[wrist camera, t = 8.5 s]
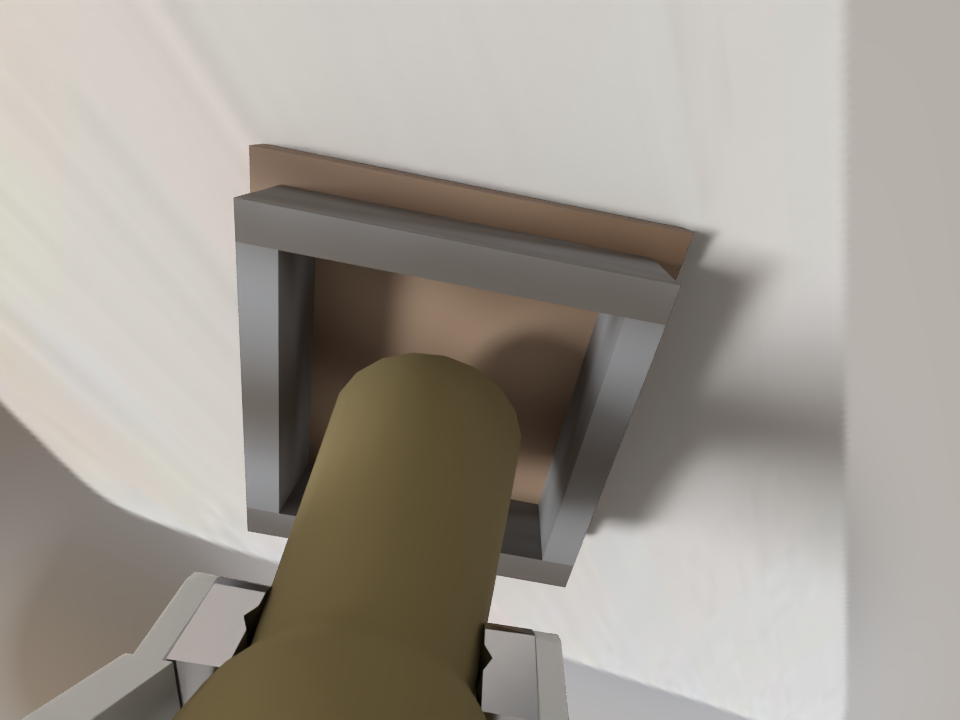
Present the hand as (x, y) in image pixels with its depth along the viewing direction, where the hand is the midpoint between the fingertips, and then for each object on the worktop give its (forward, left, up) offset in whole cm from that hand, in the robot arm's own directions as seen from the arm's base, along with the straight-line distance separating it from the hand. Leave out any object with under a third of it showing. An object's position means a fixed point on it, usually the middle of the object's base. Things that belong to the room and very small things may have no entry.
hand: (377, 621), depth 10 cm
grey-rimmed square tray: (0, 0, -11) cm, 11 cm away
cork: (0, 0, -7) cm, 7 cm away
